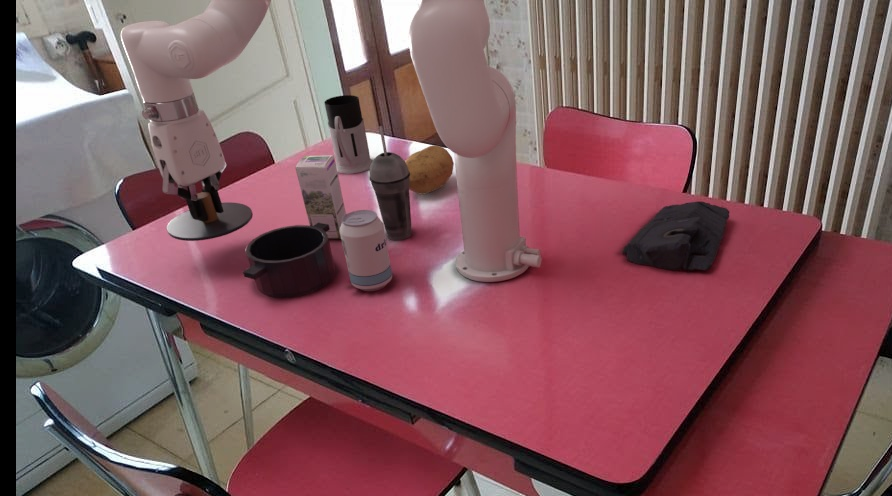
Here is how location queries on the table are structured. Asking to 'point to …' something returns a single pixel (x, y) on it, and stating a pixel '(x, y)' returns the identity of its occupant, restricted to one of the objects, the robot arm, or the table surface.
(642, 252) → the black folded cloth
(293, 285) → the pan
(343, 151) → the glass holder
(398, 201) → the beverage cup
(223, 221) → the lid
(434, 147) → the potato
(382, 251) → the beverage can
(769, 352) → the table surface
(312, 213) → the syrup box
